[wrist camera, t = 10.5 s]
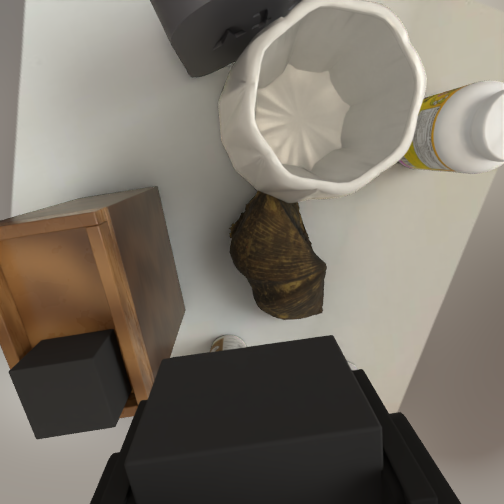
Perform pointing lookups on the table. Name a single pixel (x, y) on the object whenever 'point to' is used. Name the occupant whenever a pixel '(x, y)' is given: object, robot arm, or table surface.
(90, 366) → the black square block
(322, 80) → the vase
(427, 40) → the table surface
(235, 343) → the pill bottle
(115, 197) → the box
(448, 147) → the supplement bottle
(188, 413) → the black cube
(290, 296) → the seashell
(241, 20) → the streaming box
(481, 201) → the table surface
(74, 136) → the table surface
